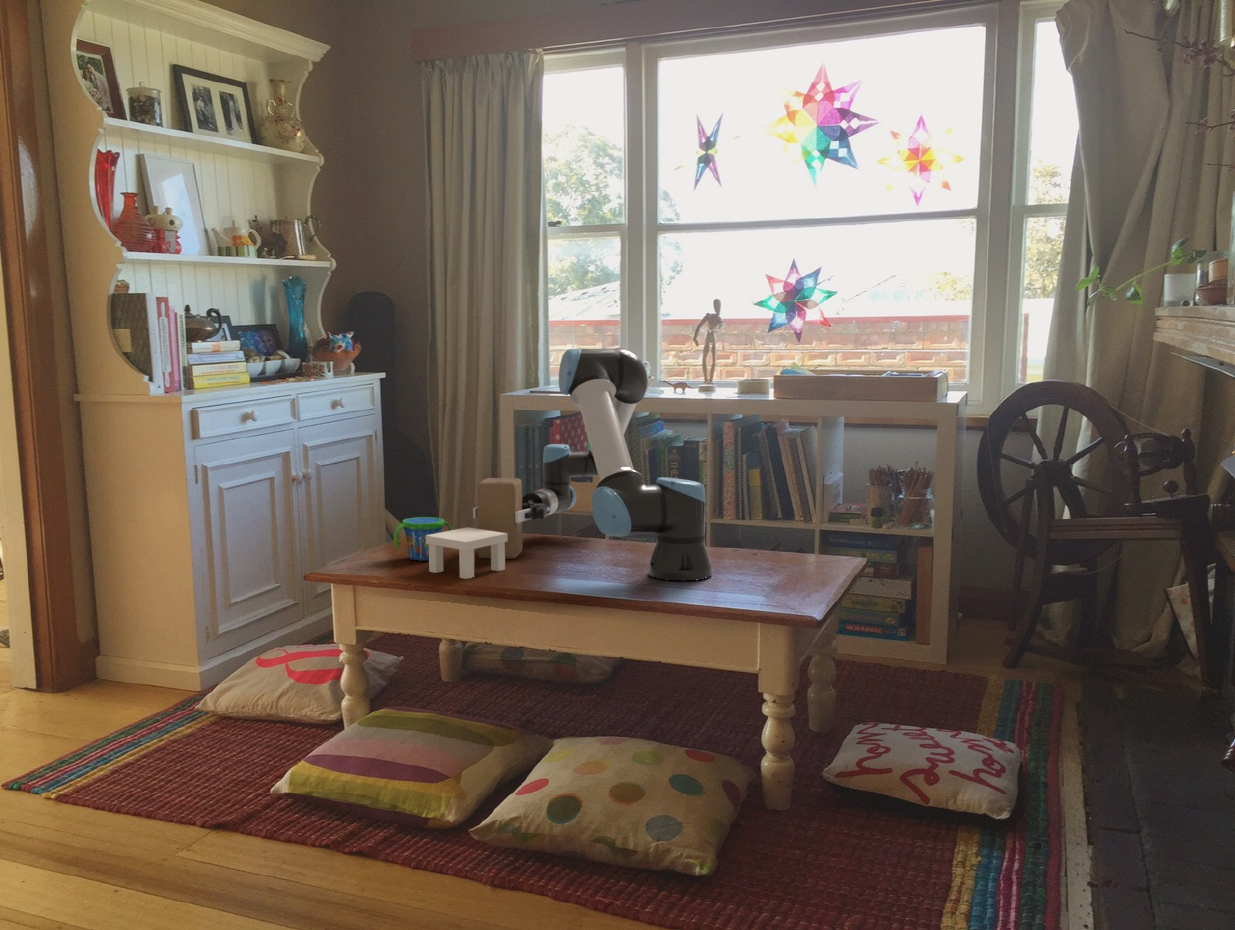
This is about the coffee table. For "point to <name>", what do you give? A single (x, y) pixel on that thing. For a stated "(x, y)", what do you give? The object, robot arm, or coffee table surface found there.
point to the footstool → (466, 548)
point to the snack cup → (419, 535)
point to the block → (500, 512)
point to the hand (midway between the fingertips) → (495, 515)
